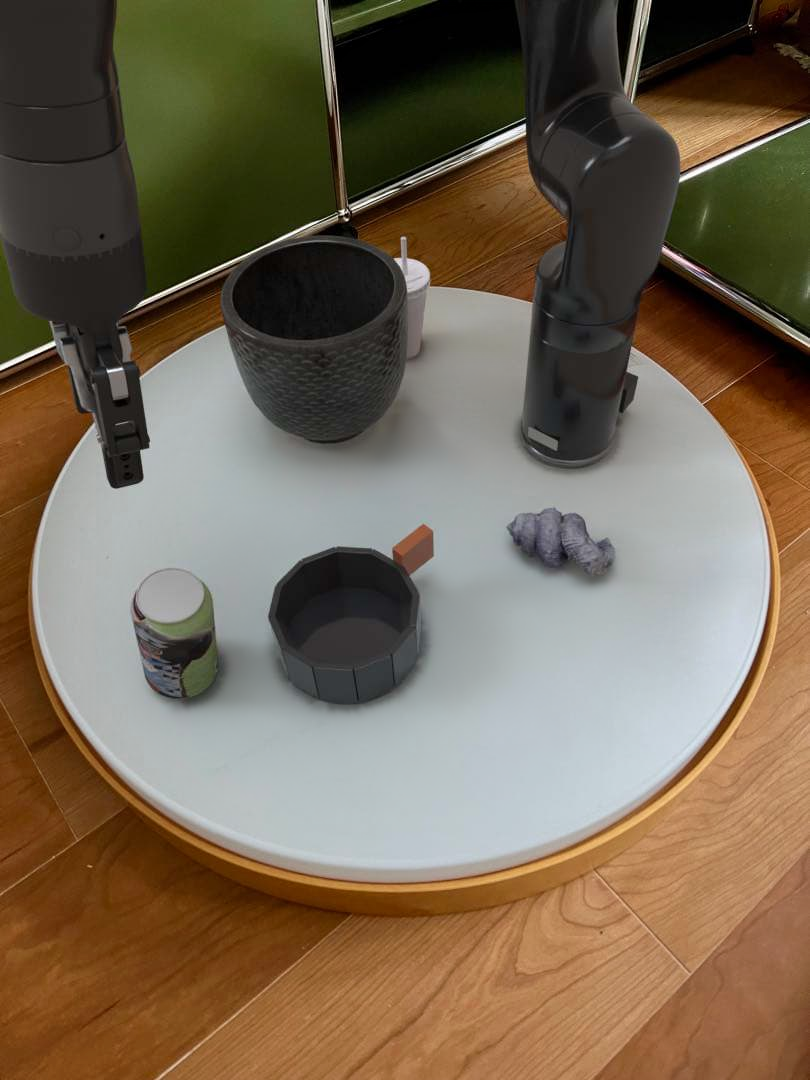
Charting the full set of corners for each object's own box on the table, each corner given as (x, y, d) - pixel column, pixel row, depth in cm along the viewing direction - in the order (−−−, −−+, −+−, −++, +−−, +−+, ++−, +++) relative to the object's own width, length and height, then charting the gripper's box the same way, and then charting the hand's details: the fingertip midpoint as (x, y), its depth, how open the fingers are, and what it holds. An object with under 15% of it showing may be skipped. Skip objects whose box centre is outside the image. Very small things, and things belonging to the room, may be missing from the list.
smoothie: (426, 369, 98) (423, 258, 87) (369, 363, 99) (359, 253, 88) (436, 333, 102) (435, 222, 91) (381, 327, 103) (373, 217, 92)
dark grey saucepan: (363, 538, 84) (357, 488, 78) (470, 597, 79) (472, 548, 74) (251, 657, 76) (235, 610, 71) (362, 730, 71) (355, 687, 66)
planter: (299, 346, 102) (278, 219, 89) (438, 385, 97) (436, 256, 84) (218, 446, 92) (182, 319, 80) (368, 495, 87) (354, 368, 75)
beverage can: (152, 645, 77) (111, 561, 68) (237, 638, 77) (208, 552, 68) (145, 711, 73) (101, 630, 64) (235, 702, 73) (204, 621, 64)
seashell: (612, 573, 82) (506, 550, 84) (624, 516, 80) (516, 495, 83) (608, 588, 77) (494, 563, 79) (620, 528, 75) (505, 504, 78)
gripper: (175, 269, 47) (195, 496, 59) (104, 159, 56) (134, 376, 67) (27, 292, 44) (78, 526, 56) (-25, 172, 53) (29, 397, 64)
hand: (108, 444), depth 61 cm, fingers open, 8 cm apart
